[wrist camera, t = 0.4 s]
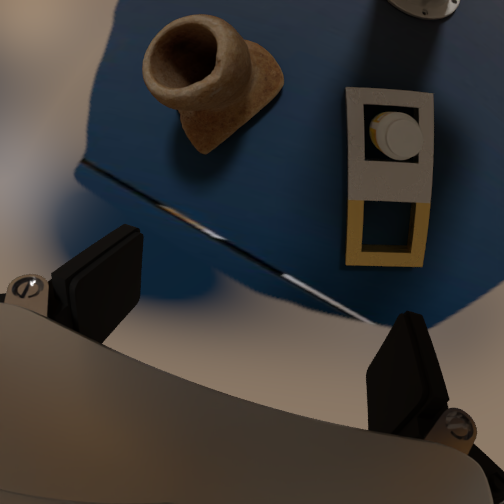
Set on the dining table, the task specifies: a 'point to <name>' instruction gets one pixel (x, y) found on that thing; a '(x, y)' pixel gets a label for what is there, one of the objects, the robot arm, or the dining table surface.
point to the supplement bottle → (396, 135)
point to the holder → (388, 178)
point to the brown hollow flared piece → (210, 77)
